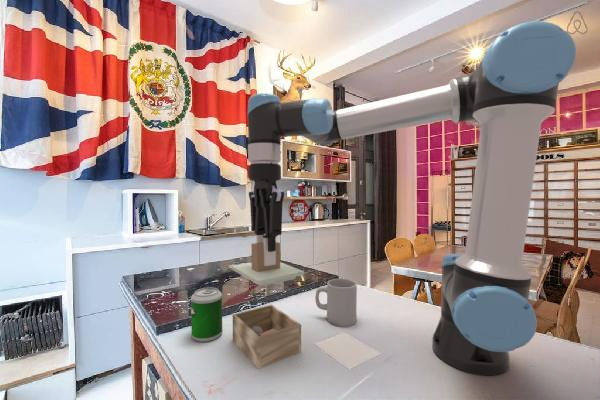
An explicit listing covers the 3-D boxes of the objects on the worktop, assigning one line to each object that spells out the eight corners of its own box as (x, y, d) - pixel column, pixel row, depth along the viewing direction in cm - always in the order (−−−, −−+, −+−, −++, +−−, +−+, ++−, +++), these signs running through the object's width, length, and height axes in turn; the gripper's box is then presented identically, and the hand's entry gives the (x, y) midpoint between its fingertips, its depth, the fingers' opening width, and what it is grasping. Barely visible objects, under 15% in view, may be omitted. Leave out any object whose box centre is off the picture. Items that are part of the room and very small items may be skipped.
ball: (266, 342, 71) (266, 327, 71) (252, 346, 69) (252, 332, 69) (259, 336, 74) (259, 322, 74) (246, 340, 72) (246, 326, 72)
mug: (357, 315, 88) (357, 279, 87) (355, 328, 79) (356, 288, 79) (317, 311, 90) (318, 276, 90) (312, 323, 82) (312, 285, 82)
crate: (301, 354, 67) (301, 324, 67) (257, 371, 61) (257, 338, 60) (271, 330, 79) (271, 304, 78) (232, 342, 72) (232, 314, 72)
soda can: (227, 332, 77) (227, 287, 77) (212, 347, 70) (211, 298, 70) (203, 328, 79) (202, 285, 79) (185, 342, 72) (184, 295, 72)
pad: (381, 356, 66) (381, 353, 66) (349, 372, 60) (349, 369, 60) (344, 334, 76) (344, 332, 76) (314, 346, 70) (314, 343, 70)
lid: (303, 279, 66) (303, 245, 66) (257, 289, 60) (257, 251, 59) (272, 265, 78) (272, 236, 78) (231, 273, 72) (230, 241, 71)
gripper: (297, 161, 63) (298, 268, 64) (263, 166, 77) (264, 255, 78) (266, 159, 59) (268, 274, 60) (236, 165, 72) (237, 259, 73)
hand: (266, 263), depth 69 cm, fingers closed on lid, 3 cm apart
